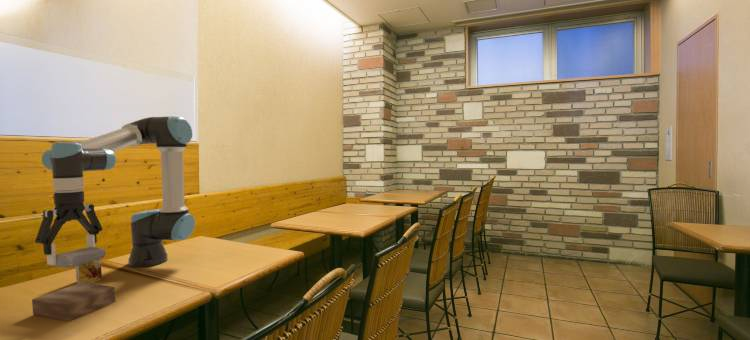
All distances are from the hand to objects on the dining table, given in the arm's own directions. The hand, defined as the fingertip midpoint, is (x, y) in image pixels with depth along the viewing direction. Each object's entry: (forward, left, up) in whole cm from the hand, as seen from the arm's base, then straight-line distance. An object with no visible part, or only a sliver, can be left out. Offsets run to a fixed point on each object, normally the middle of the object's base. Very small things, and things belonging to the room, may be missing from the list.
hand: (72, 259), depth 122 cm
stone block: (0, +2, -1) cm, 2 cm away
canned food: (-20, -21, -16) cm, 33 cm away
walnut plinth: (0, 0, -16) cm, 16 cm away
